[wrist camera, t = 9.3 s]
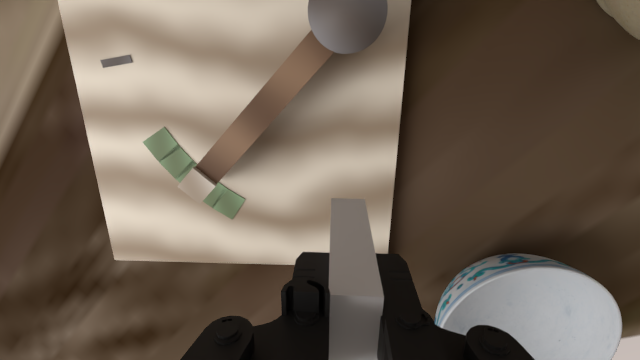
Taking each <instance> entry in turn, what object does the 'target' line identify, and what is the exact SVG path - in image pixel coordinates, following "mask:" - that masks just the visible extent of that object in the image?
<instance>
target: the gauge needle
mask: <svg viewBox="0 0 640 360" xmlns="http://www.w3.org/2000/svg"><path fill="white" fill-rule="evenodd" d="M387 12H388V4H387V0H309V2H308V20H309V24H310V27H311V31H310V32H309V33H308V34H307V35H306V37H305V38H304V39H303V40H302V41H301V43H300V44H299V45H298V46H297V47H296V48H295V50H294V51H293V52H292V53H291V54H290V56H289V57H288V58H287V59H286V60H285V61H284V63H283V64H282V65H281V66H280V67H279V69H278V70H277V71H276V72H275V73H274V74H273V76H272V77H271V78H270V79H269V80H268V82H267V83H266V84H265V85H264V86H263V87H262V89H261V90H260V91H259V92H258V93H257V94H256V96H255V97H254V98H253V99H252V100H251V102H250V103H249V104H248V105H247V106H246V107H245V109H244V110H243V111H242V112H241V113H240V115H239V116H238V117H237V118H236V119H235V120H234V122H233V123H232V124H231V125H230V126H229V128H228V129H227V130H226V131H225V132H224V133H223V135H222V136H221V137H220V138H219V139H218V141H217V142H216V143H215V144H214V145H213V146H212V148H211V149H210V150H209V151H208V152H207V154H206V155H205V156H204V157H203V158H202V159H201V161H200V162H199V163H198V164H197V165H196V167H193V168H192V169H191V171H190V172H189V173H188V174H187V175H186V177H185V178H184V179H183V180H182V181H181V183H180V184H179V185H178V186H177V187H178V188H180V189H181V190H182V191H183V192H185V193H186V194H187V195H189V196H190V197H191V198H192V199H194V200H195V201H196V202H197V203H199V204H200V203H201V202H202V201H203V200H204V199H205V198H206V197H207V196H208V194H209V193H210V192H211V191H212V190H213V189H214V188H215V187H216V185H217V183H218V182H219V181H220V180H221V179H222V178H223V176H224V175H225V174H226V173H227V172H228V171H229V170H230V169H231V167H232V166H233V165H234V164H235V163H236V162H237V161H238V160H239V158H240V157H241V156H242V155H243V154H244V153H245V152H246V151H247V149H248V148H249V147H250V146H251V145H252V144H253V143H254V142H255V140H256V139H257V138H258V137H259V136H260V135H261V134H262V133H263V131H264V130H265V129H266V128H267V127H268V126H269V125H270V124H271V122H272V121H273V120H274V119H275V118H276V117H277V116H278V115H279V113H280V112H281V111H282V110H283V109H284V108H285V107H286V106H287V104H288V103H289V102H290V101H291V100H292V99H293V98H294V96H295V95H296V94H297V93H298V92H299V91H300V90H301V89H302V87H303V86H304V85H305V84H306V83H307V82H308V81H309V80H310V78H311V77H312V76H313V75H314V74H315V73H316V72H317V71H318V69H319V68H320V67H321V66H322V65H323V64H324V63H325V62H326V60H327V59H328V58H329V57H330V56H331V55H332V54H333V53H334V52H335V53H339V54H350V53H356V52H359V51H361V50H364V49H365V48H367V47H369V46H370V45H371V44H372V43H373V42H374V41H375V40H376V39H377V38H378V37H379V35H380V34H381V32H382V30H383V28H384V25H385V23H386V19H387Z"/></svg>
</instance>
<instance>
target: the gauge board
mask: <svg viewBox="0 0 640 360" xmlns="http://www.w3.org/2000/svg"><path fill="white" fill-rule="evenodd" d="M308 2H309V0H58V4H59V9H60V13H61V18H62V22H63V27H64V31H65V36H66V41H67V45H68V50H69V54H70V59H71V63H72V68H73V72H74V77H75V82H76V86H77V91H78V95H79V100H80V104H81V109H82V113H83V118H84V122H85V127H86V132H87V136H88V141H89V145H90V150H91V154H92V159H93V163H94V168H95V173H96V177H97V182H98V186H99V191H100V195H101V200H102V204H103V209H104V213H105V218H106V223H107V227H108V232H109V236H110V241H111V245H112V250H113V254H114V259H115V260H132V261H170V262H207V263H244V264H282V265H295V262H296V259H297V258H298V257H299V256H300V254H301V253H302V252H324V253H330V221H331V198H344V199H365V203H366V208H367V213H368V218H369V223H370V228H371V233H372V238H373V244H374V249H375V253H380V254H388V246H389V236H390V225H391V214H392V203H393V192H394V181H395V170H396V160H397V149H398V138H399V127H400V116H401V105H402V95H403V84H404V73H405V62H406V51H407V40H408V30H409V19H410V8H411V0H387V4H388V12H387V19H386V23H385V25H384V28H383V30H382V32H381V34H380V35H379V37H378V38H377V39H376V40H375V41H374V42H373V43H372V44H371V45H370V46H369V47H367V48H365V49H364V50H361V51H359V52H356V53H350V54H339V53H335V52H334V53H333V54H332V55H331V56H330V57H329V58H328V59H327V60H326V62H325V63H324V64H323V65H322V66H321V67H320V68H319V69H318V71H317V72H316V73H315V74H314V75H313V76H312V77H311V78H310V80H309V81H308V82H307V83H306V84H305V85H304V86H303V87H302V89H301V90H300V91H299V92H298V93H297V94H296V95H295V96H294V98H293V99H292V100H291V101H290V102H289V103H288V104H287V106H286V107H285V108H284V109H283V110H282V111H281V112H280V113H279V115H278V116H277V117H276V118H275V119H274V120H273V121H272V122H271V124H270V125H269V126H268V127H267V128H266V129H265V130H264V131H263V133H262V134H261V135H260V136H259V137H258V138H257V139H256V140H255V142H254V143H253V144H252V145H251V146H250V147H249V148H248V149H247V151H246V152H245V153H244V154H243V155H242V156H241V157H240V158H239V160H238V161H237V162H236V163H235V164H234V165H233V166H232V167H231V169H230V170H229V171H228V172H227V173H226V174H225V175H224V176H223V178H222V179H221V180H220V181H219V182H218V183H217V185H216V187H215V188H214V189H213V190H212V191H211V192H210V193H209V194H208V196H207V197H206V198H205V199H204V200H203V201H202V202H201V203H200V204H199V203H197V202H196V201H195V200H194V199H192V198H191V197H190V196H189V195H187V194H186V193H185V192H183V191H182V190H181V189H180V188H178V187H177V186H178V185H179V184H180V183H181V181H182V180H183V179H184V178H185V177H186V175H187V174H188V173H189V172H190V171H191V169H192V168H193V167H196V165H197V164H198V163H199V162H200V161H201V159H202V158H203V157H204V156H205V155H206V154H207V152H208V151H209V150H210V149H211V148H212V146H213V145H214V144H215V143H216V142H217V141H218V139H219V138H220V137H221V136H222V135H223V133H224V132H225V131H226V130H227V129H228V128H229V126H230V125H231V124H232V123H233V122H234V120H235V119H236V118H237V117H238V116H239V115H240V113H241V112H242V111H243V110H244V109H245V107H246V106H247V105H248V104H249V103H250V102H251V100H252V99H253V98H254V97H255V96H256V94H257V93H258V92H259V91H260V90H261V89H262V87H263V86H264V85H265V84H266V83H267V82H268V80H269V79H270V78H271V77H272V76H273V74H274V73H275V72H276V71H277V70H278V69H279V67H280V66H281V65H282V64H283V63H284V61H285V60H286V59H287V58H288V57H289V56H290V54H291V53H292V52H293V51H294V50H295V48H296V47H297V46H298V45H299V44H300V43H301V41H302V40H303V39H304V38H305V37H306V35H307V34H308V33H309V32H310V31H311V27H310V24H309V20H308Z"/></svg>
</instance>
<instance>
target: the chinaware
mask: <svg viewBox="0 0 640 360" xmlns="http://www.w3.org/2000/svg"><path fill="white" fill-rule="evenodd" d="M435 324H436V325H437V326H439V327H441V328H443V329H446V330H449V331H452V332H455V333H459V334H462V335H466V333H467V332H468V330H469V329H470V328H471V327H474V326H477V325H489V326H493V327H496V328H499V329H501V330H503V331H505V332H507V333H509V334H510V335H511V336H512V337H513V338H515V339H516V340H517V341H518V342H519V343H520V344H521V345H522V346H523V347H524V349H525V350H526V351H527V352H528V353H529V354H530V355H531V356H532V357H533V358H534V359H535V360H611V359H612V357H613V356H614V354H615V352H616V350H617V347H618V345H619V342H620V339H621V334H622V318H621V313H620V310H619V307H618V305H617V303H616V301H615V299H614V298H613V296H612V295H611V294H610V292H609V291H608V290H607V289H606V288H605V287H604V286H602V285H601V284H600V283H599V282H597V281H596V280H594V279H593V278H591V277H590V276H588V275H586V274H584V273H583V272H581V271H579V270H577V269H575V268H573V267H571V266H568V265H566V264H564V263H561V262H558V261H556V260H552V259H549V258H546V257H542V256H537V255H531V254H519V253H512V254H501V255H495V256H491V257H488V258H485V259H482V260H479V261H477V262H475V263H473V264H471V265H470V266H468V267H466V268H465V269H464V270H462V271H461V272H460V273H459V274H458V275H457V276H456V277H455V278H454V279H453V280H452V281H451V282H450V283H449V285H448V286H447V288H446V289H445V291H444V293H443V295H442V297H441V299H440V301H439V304H438V307H437V311H436V316H435Z"/></svg>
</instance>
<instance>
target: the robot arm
mask: <svg viewBox="0 0 640 360" xmlns="http://www.w3.org/2000/svg"><path fill="white" fill-rule="evenodd" d="M281 303H282V315H281V316H280V317H279V318H278V319H276V320H274V321H272V322H269V323H266V324H263V325H258V326H252V324H251V323H250V322H249V321H248V320H247V319H245V318H243V317H240V316H227V317H222V318H220V319H217V320H215V321H213V322H212V323H211V324H210V325H209V326H207V327H206V328H205V329H204V331H203V332H202V333H201V334H200V336H199V337H198V338H197V339H196V341H195V342H194V343H193V344H192V346H191V347H190V348H189V349H188V351H187V352H186V353H185V355H184V356H183V357H182V358H181V360H535V359H534V358H533V357H532V356H531V355H530V354H529V353H528V352H527V351H526V350H525V349H524V347H523V346H522V345H521V344H520V343H519V342H518V341H517V340H516V339H515V338H513V337H512V336H511V335H510V334H509V333H507V332H505V331H503V330H501V329H499V328H496V327H493V326H489V325H477V326H474V327H471V328H470V329H469V330H468V332H467V333H466V335H462V334H459V333H455V332H452V331H449V330H446V329H443V328H441V327H439V326H437V325H436V324H435V323H434V321H433V319H432V318H431V316H430V315H429V314H428V313H427V312H425V311H424V310H423V309H422V307H421V304H420V301H419V298H418V295H417V292H416V289H415V286H414V283H413V281H412V277H411V274H410V271H409V268H408V265H407V262H406V261H405V260H404V259H403V258H402V257H401V256H400V255H399V254H380V253H375V249H374V244H373V238H372V233H371V228H370V223H369V218H368V213H367V208H366V203H365V199H344V198H331V221H330V253H324V252H302V253H301V254H300V256H299V257H298V258H297V259H296V262H295V267H294V273H293V278H292V280H291V281H289V282H288V283H287V284H285V285H284V287H283V289H282V291H281Z"/></svg>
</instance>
